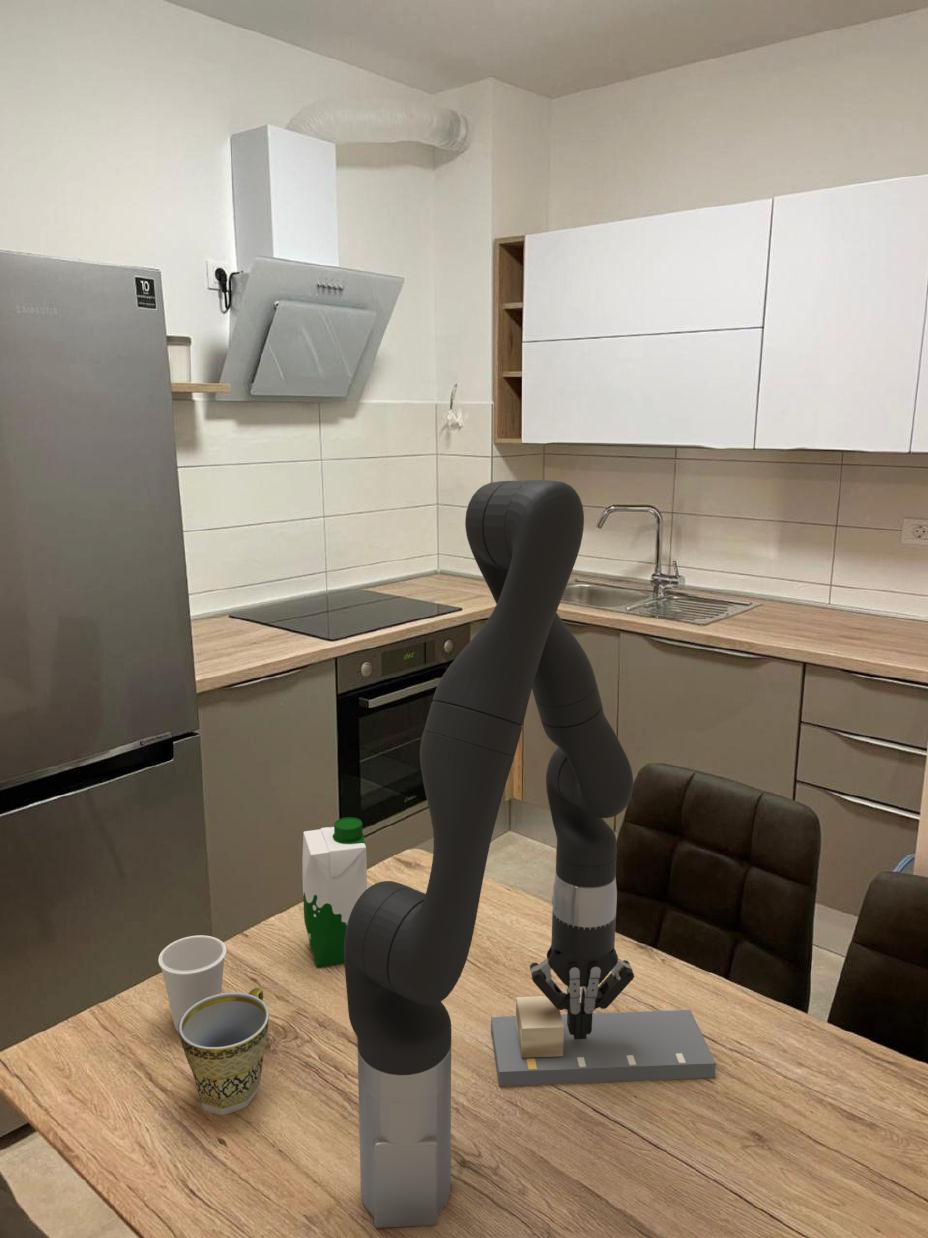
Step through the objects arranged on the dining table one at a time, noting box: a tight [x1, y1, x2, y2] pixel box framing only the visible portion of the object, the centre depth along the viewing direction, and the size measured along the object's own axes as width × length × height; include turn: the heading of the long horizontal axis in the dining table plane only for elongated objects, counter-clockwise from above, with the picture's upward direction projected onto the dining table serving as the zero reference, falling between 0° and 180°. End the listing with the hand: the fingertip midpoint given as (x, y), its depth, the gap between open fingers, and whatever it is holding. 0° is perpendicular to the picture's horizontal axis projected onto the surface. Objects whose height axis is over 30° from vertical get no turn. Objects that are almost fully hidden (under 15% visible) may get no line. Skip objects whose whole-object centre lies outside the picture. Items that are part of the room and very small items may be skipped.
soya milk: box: [301, 816, 368, 969], centre depth 134 cm, size 9×9×20 cm
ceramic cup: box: [178, 987, 270, 1116], centre depth 108 cm, size 13×10×10 cm
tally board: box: [490, 1009, 717, 1088], centre depth 115 cm, size 10×26×2 cm, turn 94°
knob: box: [515, 995, 564, 1058], centre depth 114 cm, size 6×5×4 cm
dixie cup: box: [158, 934, 227, 1033], centre depth 119 cm, size 8×8×10 cm
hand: (579, 1034), depth 114 cm, fingers closed
